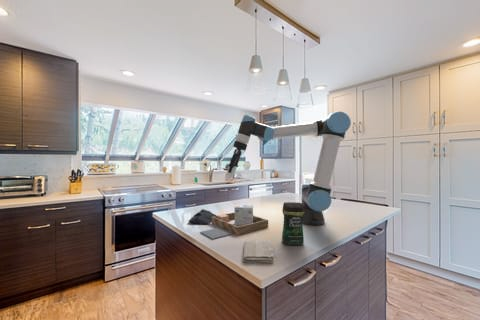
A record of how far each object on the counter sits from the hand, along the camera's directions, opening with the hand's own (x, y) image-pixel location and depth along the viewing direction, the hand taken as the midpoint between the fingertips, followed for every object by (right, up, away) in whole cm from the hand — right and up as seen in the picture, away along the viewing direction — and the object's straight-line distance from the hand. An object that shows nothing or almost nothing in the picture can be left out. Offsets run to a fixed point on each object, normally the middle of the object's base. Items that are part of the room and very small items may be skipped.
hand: (229, 177), depth 125 cm
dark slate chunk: (-18, -28, +13) cm, 36 cm away
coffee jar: (+30, -28, -25) cm, 48 cm away
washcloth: (+13, -29, -36) cm, 48 cm away
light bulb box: (+8, -28, +4) cm, 30 cm away
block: (-4, -28, +4) cm, 29 cm away
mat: (-6, -28, -13) cm, 31 cm away
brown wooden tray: (+6, -28, +2) cm, 28 cm away
